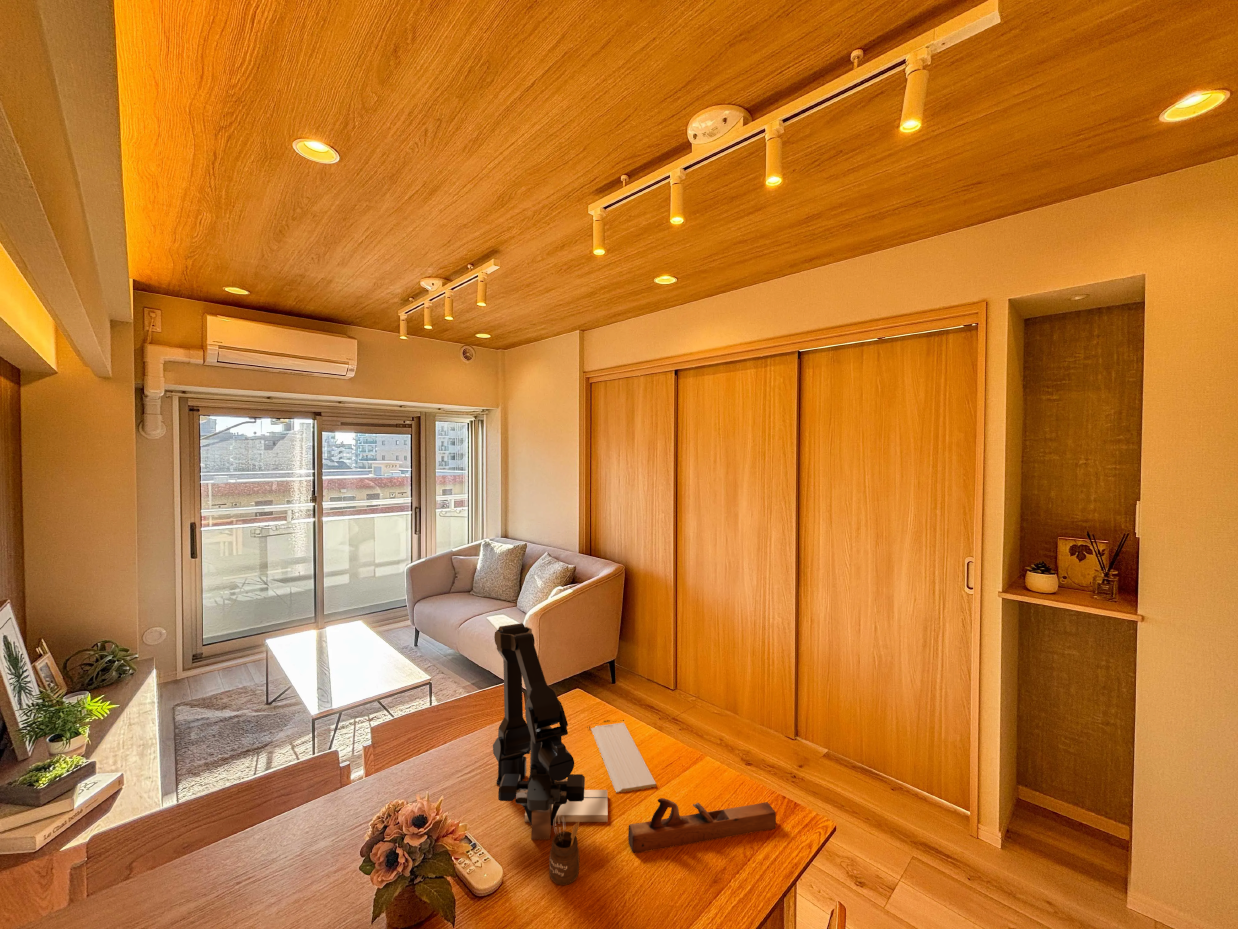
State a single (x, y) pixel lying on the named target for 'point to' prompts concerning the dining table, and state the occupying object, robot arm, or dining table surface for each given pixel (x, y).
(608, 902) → the dining table surface
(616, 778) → the baseboard molding
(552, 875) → the utensil holder
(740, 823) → the hand plane
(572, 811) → the board
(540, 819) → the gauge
